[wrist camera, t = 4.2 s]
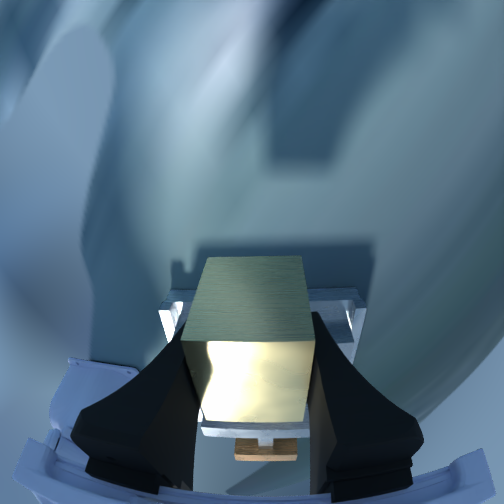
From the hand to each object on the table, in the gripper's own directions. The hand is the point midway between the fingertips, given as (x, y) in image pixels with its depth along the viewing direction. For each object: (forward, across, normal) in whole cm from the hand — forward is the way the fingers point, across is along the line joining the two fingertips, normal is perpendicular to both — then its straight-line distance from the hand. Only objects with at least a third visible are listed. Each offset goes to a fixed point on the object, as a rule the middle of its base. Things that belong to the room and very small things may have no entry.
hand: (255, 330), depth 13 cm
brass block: (+2, 0, 0) cm, 2 cm away
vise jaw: (+7, 0, +21) cm, 23 cm away
